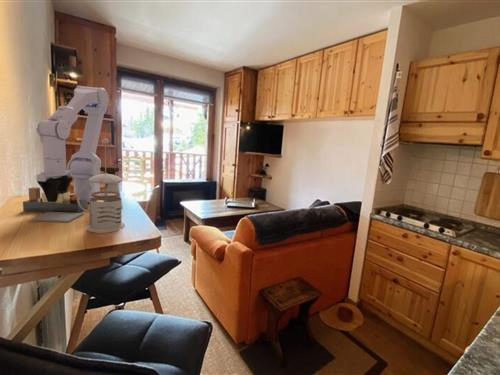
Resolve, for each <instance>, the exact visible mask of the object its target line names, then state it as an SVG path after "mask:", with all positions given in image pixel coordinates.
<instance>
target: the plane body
mask: <svg viewBox="0 0 500 375" xmlns="http://www.w3.org/2000/svg"><path fill="white" fill-rule="evenodd" d="M78 197H79V195H78ZM79 202H80V205H81V206H82V208H84V209H86V210H89V204H88V203H89V202H88V200H80V199H79ZM22 209H23V210H22V212H34V213H35V212H37V213H47V212H69V213H83V212H85V211H84V210H83V209H81V207H80V206H79V205H78V202H77V194H74V193H73V194H71V193H70V201H67V202H64V203H50V202H42V196H41V187H33V186H32V187H28V199H27V200H25V201H22Z"/></svg>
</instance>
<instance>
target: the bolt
mask: <svg viewBox="0 0 500 375" xmlns="http://www.w3.org/2000/svg"><path fill="white" fill-rule="evenodd" d="M100 171H101V172H103V174H104V173H105V165H103V166H102V165H101V167H100ZM117 172H120V167H118V166H116V165H115V166H114V165H113V166H111V165H106V173H107V174H111V175H115V176H116V173H117ZM107 185H108V184H107V183H106V189H107Z"/></svg>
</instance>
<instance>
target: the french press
mask: <svg viewBox="0 0 500 375" xmlns="http://www.w3.org/2000/svg"><path fill="white" fill-rule="evenodd" d="M101 143H102V144H104V166H105V173H104V172H103V173H100V175H96V176H93V177H91V178H90V179H89V181H90V182H93V183H100V184H104V191H103V190H100V191H99V192H94V193H92V194H91V195H92V196H93V197H94V198H91V199H90V202H89V209H84V208H82V206H81V205H80V202H79V199H80V194H81V192H82V191H83V190H84V189H85V188H87V187H89V190H90V191H91V186H90V185H85V186H87V187H85V186H83V187H85V188H83V187H82V188H83V189H82V188H81V189H82V190H81V189H80V190H79V192H80V191H81V192H80V194H79V192H78V194H77V202H78V205H79V206H80V207H81V209H83V210H84V211H83V212H87V213H88V214H89V215H88V218H89V224H88V225H87V226H86V229H85V230H86V231H88V232H91V233H99V234H100V233H102V234H105V233H113V232H116V231H117V232H118V231H120V230H123V229H124V228H125V227H126V224H125V223H124V222H123V221H122V211H121V201H122V197H121V198H120V197H117V196H119V195H120V196H121V192H120V193H119V192H112V191H110V192H109V191H106V183H118V182H120V183H121V182H122V181H123V179H122V178H121V177H120V176H118V175H116V174H115V175H111V174H107V173H106V166H107V145H106V144H110V140H109V139H108V138H102V139H101ZM117 176H118V177H117ZM118 184H119V183H118ZM78 195H79V197H78ZM101 201H102V202H101ZM104 201H106V202H104ZM103 206H108V207H111V208H117V210H114V209H109V208H105V207H103ZM105 211H111V212H116V213H117V214H112V213H108V212H105ZM106 215H109V216H114V217H109V216H106Z"/></svg>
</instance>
